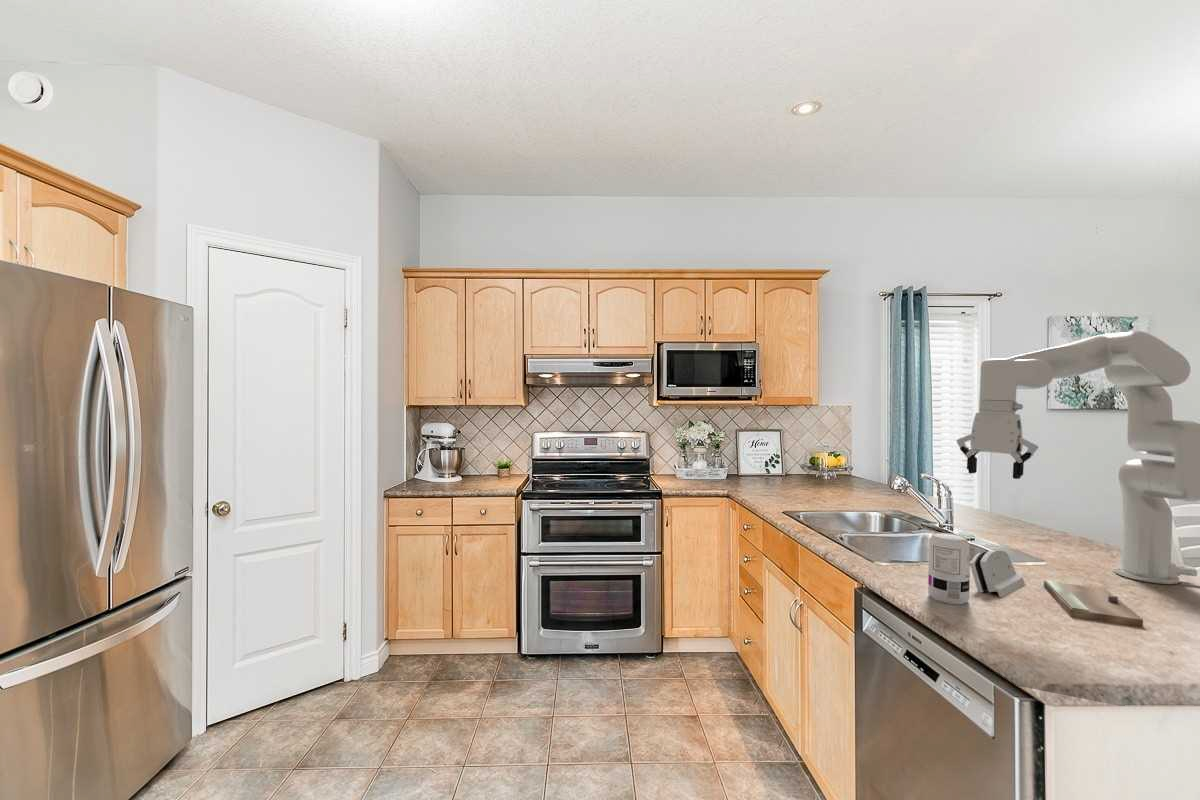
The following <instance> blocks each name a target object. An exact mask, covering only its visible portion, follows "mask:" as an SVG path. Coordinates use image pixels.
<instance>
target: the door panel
mask: <svg viewBox="0 0 1200 800" xmlns="http://www.w3.org/2000/svg"><path fill="white" fill-rule="evenodd" d="M1043 587H1044V589H1045V590H1046V591H1047V592H1048V593H1049V594H1050V595H1051V596H1052V597H1053V599H1054V600H1055V601H1056V602H1057V603H1058V604H1059V605H1060V607H1062V609H1064V611H1065V612H1066V614H1068V615H1069V617H1073V618H1080V619H1085V620H1093V621H1099V622H1100V621H1101V622H1106V623H1107V622H1108V623H1114V624H1120V625H1128V626H1134V627H1142V628H1143V627H1144V619H1143V618H1141V617H1140V616H1139V615H1138V614H1137V613H1135V612H1134V611H1133V610H1132V609H1130V607H1129V606H1127V605H1126V604H1124V602H1122V601H1121V600H1119V598H1118V597H1119V596H1116V595H1114V594H1112V593H1111V592H1110V591H1109V590H1108V589H1106V588H1105V587H1098V586H1097V587H1096V586H1090V585H1089V586H1087V585H1081V584H1071V583H1065V582H1061V581H1054V580H1043Z"/></svg>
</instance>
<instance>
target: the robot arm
mask: <svg viewBox="0 0 1200 800" xmlns="http://www.w3.org/2000/svg"><path fill="white" fill-rule="evenodd" d="M1103 368H1104V374H1105V376H1106V378H1107V380H1109V382H1110V383H1111V384H1113V385H1114V386H1115V387H1116V388H1117V389H1118V390H1120V391H1121V393H1122V394H1123V396H1124V397H1125V399H1126V402H1127V435H1126V436H1127V445H1128V446H1129V448H1130V449H1131V451H1133V452H1136V453H1139V454H1142V455H1143V454H1144V455H1151V456H1160V457H1170V458H1173V459H1174V460H1173V461H1174V462H1173V461H1167V460H1158V459H1149V458H1147V459H1146V458H1136V459H1131V460H1130V459H1129V460H1127V461H1125V462H1124V463H1122V465H1121V466H1120V467H1119V469H1118V482H1119V486H1120V491H1121V495H1122V496H1121V497H1122V527H1121V528H1122V531H1121V532H1122V533H1121V534H1122V535H1121V536H1122V537H1121V564H1120V565H1115V566H1114V567H1113V572H1114V573H1115V574H1117V575H1119V576H1123V577H1124V578H1128V579H1131V580H1135V581H1140V582H1146V583H1152V584H1159V585H1161V584H1162V585H1176V584H1179V583H1180V576H1181V575H1183V576H1188V577H1189V576H1190V577H1197V576H1198V571H1197V569H1196V568H1189V567H1186V566H1182V565H1176V564H1175V563H1174V562H1172V550H1173V549H1172V545H1173V543H1172V542H1173V541H1172V540H1173V513H1172V510H1171V508H1170V505H1169V503H1168V502H1167V501H1166V499H1170V500H1174V501H1175V500H1176V501H1181V502H1183V501H1184V502H1198V501H1200V423H1199V422H1195V421H1192V420H1176V419H1174V417H1173V401H1172V398H1171V396H1170V394H1169V393H1168V391H1166V389H1165V388H1164V387H1166V388H1167V387H1174V386H1175V387H1176V386H1179V385H1181V384H1183V383H1185V382H1186V381H1187V380H1188V379H1189V377H1190V374H1191V365H1190V362H1189V361H1188V360H1187V358H1186V356H1184V355H1183V354H1182V353H1181V352H1179V351H1178V350H1176V349H1175V348H1173V347H1172V346H1170V345H1169V344H1167V343H1166V342H1164V341H1162V340H1161V339H1159V338H1158V337H1157V336H1155V335H1152V334H1150V333H1148V332H1145V331H1139V330H1133V331H1132V330H1131V331H1123V332H1122V331H1121V332H1112V333H1110V332H1109V333H1102V334H1098V335H1095V336H1094V335H1093V336H1089V337H1087V338H1083V339H1080V340H1077V341H1074V342H1070V343H1066V344H1062V345H1059V346H1058V345H1057V346H1054V347H1049V348H1044V349H1041V350H1037V351H1036V350H1035V351H1033V352H1028V353H1023V354H1018V355H1015V356H1011V357H1007V358H989V359H984V360H983V361H982V362H981V364H980V377H979V378H980V379H979V380H980V382H979V384H980V385H979V401H978V402H979V405H978V412H975V414H974V415H975V416H974V417H973V423H972V425H971V426H972V427H971V433H970V434H968V435H966V436H962V437H960V438H958V439H956V443H957V445H958V447H959V450H960V451H961V453H962V454H964V456H965V457H966V459H967V460H966V461H967V463H966V469H967V470H968V474H975V473H977V471H978V469H977V468H978V467H977V466H978V457H976V455H978V454H979V453H980V452H983V453H992V454H1007V455H1010V456H1011V458H1013V459H1014V460H1015V462H1013V464H1012V478H1013V479H1015V480H1017V479H1018V480H1019V479H1021V478H1022V476H1023V475H1024V467H1025V466H1024V464H1025V462H1027V461H1028V460H1030V459H1031V458H1032V457H1034V455H1035V453H1036V452H1037V450H1038V449H1039V446H1038V445H1037V444H1035V443H1033V442H1032V441H1029V440H1027V439H1025V438H1024V437H1023V429H1022V419H1021V416H1020V414H1016V413H1017V411H1019V410H1023V407H1024V406H1023V403H1018V402H1017V390H1036V389H1037V390H1038V389H1041V388H1045V387H1048V386H1049V384H1051V382H1052V381H1053V380H1054V379H1064V378H1065V379H1066V378H1072V377H1077V376H1080V375H1084V374H1087V373H1090V372H1093V371H1097V370H1101V369H1103ZM967 442H970V449H969V447H967V445H966V443H967ZM1023 447H1026V448H1027V450H1026V452H1025V453H1023V454H1022V451H1023Z"/></svg>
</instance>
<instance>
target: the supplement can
mask: <svg viewBox="0 0 1200 800" xmlns="http://www.w3.org/2000/svg"><path fill="white" fill-rule="evenodd" d="M970 563H971V545H970V542H969V541H968V538H967V537H966V536H963V535H961V534H956V533H950V532H949V533H948V532H934V533H932V534H931V537H930V538H929V539H928V587H927V588H928V591H927V592H928V595H929V596H930V598H931V599H933V600H935V601H938V602H939V603H944V604H947V605H948V604H949V605H957V606H960V605H965V604H966V603H967V602H969V601H970V582H971V581H970V579H971V578H970V576H971V571H970V570H971V566H970Z"/></svg>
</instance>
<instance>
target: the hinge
mask: <svg viewBox="0 0 1200 800" xmlns="http://www.w3.org/2000/svg"><path fill="white" fill-rule="evenodd" d="M1013 565H1014V564H1013V563H1012V561H1011V558H1010V555H1009V554H1008V553H1007V552H1006V551H1003V550H999V549H998V550H995V549H992V550H985V551H981V552H978V553H976V554H975V556H973V557H972V559H971V560H970V570H971V573H972V577H973V580H974V583H975V586H976V589H977V592H978V593H985V592H988V593H993V592H997V594H998V597H999V598H1001V599H1002V598H1004V597H1006V596H1008V595H1009V594H1011V593H1013V592H1014V591H1017V590H1018V589H1020V588H1022V587H1023V586H1026V582H1025V580H1024V577H1023V576H1021V575H1020V574H1017V572H1016V569H1015V567H1014V566H1013Z"/></svg>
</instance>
